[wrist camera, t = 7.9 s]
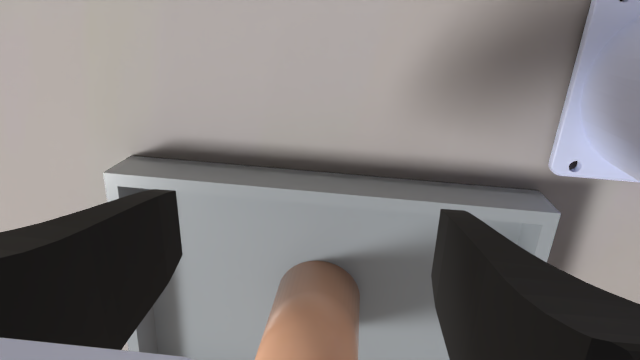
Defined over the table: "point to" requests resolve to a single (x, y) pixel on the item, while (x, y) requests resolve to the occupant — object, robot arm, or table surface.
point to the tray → (309, 250)
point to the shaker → (313, 315)
